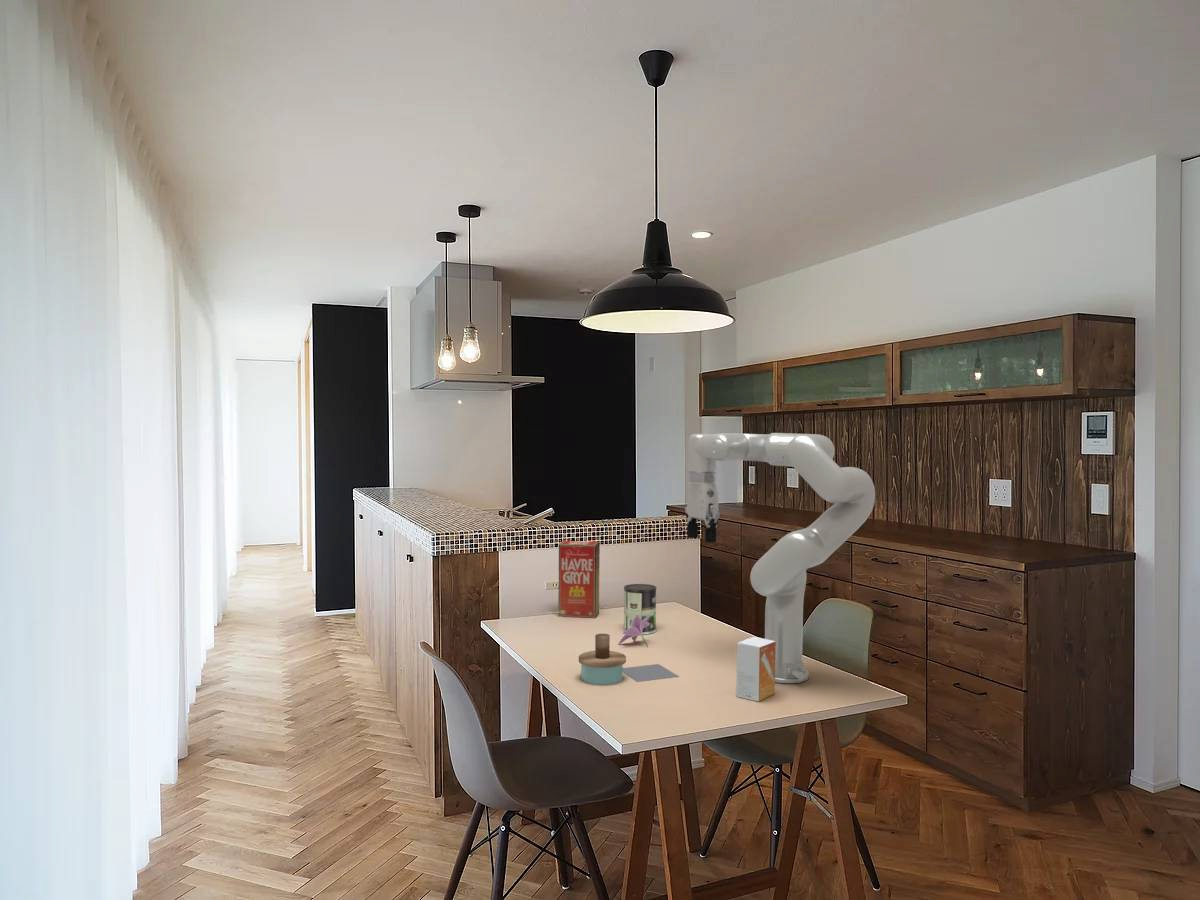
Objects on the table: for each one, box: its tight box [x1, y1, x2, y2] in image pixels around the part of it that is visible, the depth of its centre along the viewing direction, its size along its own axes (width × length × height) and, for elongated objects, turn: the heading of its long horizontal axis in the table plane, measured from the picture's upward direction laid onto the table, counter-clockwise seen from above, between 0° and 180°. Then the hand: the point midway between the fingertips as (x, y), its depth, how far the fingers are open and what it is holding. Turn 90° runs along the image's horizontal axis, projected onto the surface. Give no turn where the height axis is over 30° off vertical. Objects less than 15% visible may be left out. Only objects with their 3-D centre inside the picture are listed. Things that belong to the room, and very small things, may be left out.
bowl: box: [580, 663, 624, 686], centre depth 203 cm, size 10×10×5 cm
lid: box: [578, 633, 627, 668], centre depth 203 cm, size 12×12×6 cm
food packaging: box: [557, 540, 601, 619], centre depth 276 cm, size 13×9×25 cm
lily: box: [618, 614, 652, 648], centre depth 237 cm, size 12×12×10 cm
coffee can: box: [623, 583, 657, 635], centre depth 254 cm, size 10×10×14 cm
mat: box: [623, 663, 680, 683], centre depth 208 cm, size 12×12×1 cm
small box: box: [735, 636, 776, 702], centre depth 192 cm, size 8×6×13 cm
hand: (701, 539), depth 222 cm, fingers open, 9 cm apart
